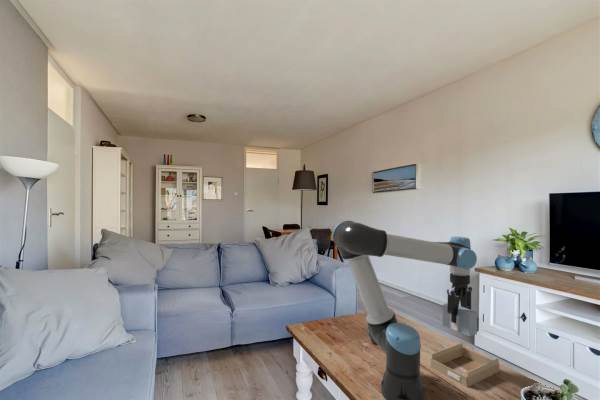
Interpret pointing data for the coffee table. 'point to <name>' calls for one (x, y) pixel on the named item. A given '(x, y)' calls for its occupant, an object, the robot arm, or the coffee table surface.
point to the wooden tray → (473, 375)
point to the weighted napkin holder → (462, 320)
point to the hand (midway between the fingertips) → (459, 328)
